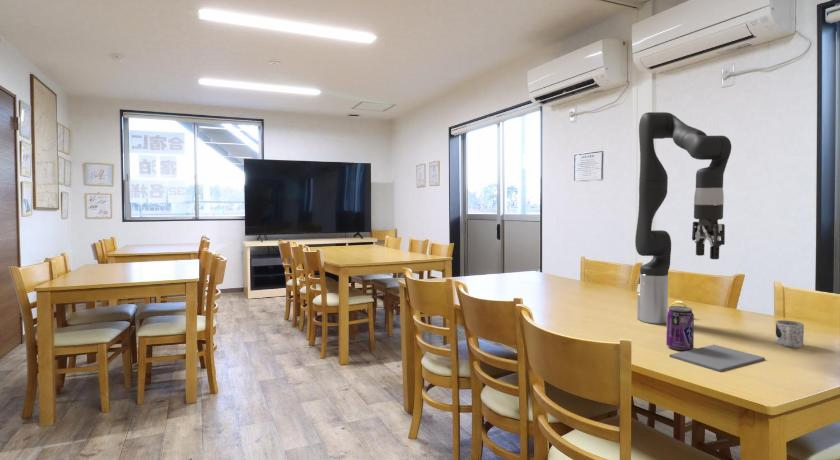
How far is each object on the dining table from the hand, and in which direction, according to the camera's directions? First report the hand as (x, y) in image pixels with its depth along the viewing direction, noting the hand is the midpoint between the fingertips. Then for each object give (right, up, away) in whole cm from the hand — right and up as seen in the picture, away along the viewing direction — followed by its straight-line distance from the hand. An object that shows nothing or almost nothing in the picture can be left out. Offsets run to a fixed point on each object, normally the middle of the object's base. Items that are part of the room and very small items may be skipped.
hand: (707, 257), depth 145 cm
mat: (-4, -27, -11) cm, 30 cm away
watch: (+12, -25, +38) cm, 47 cm away
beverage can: (-9, -27, -1) cm, 29 cm away
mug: (+24, -27, -1) cm, 36 cm away
